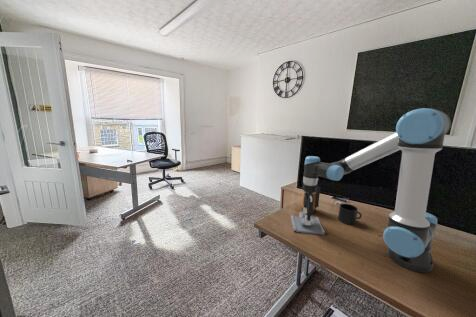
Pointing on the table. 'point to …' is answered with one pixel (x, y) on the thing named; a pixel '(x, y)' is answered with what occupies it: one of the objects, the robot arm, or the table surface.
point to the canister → (316, 198)
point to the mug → (348, 214)
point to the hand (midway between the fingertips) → (306, 221)
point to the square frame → (302, 218)
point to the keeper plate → (307, 226)
